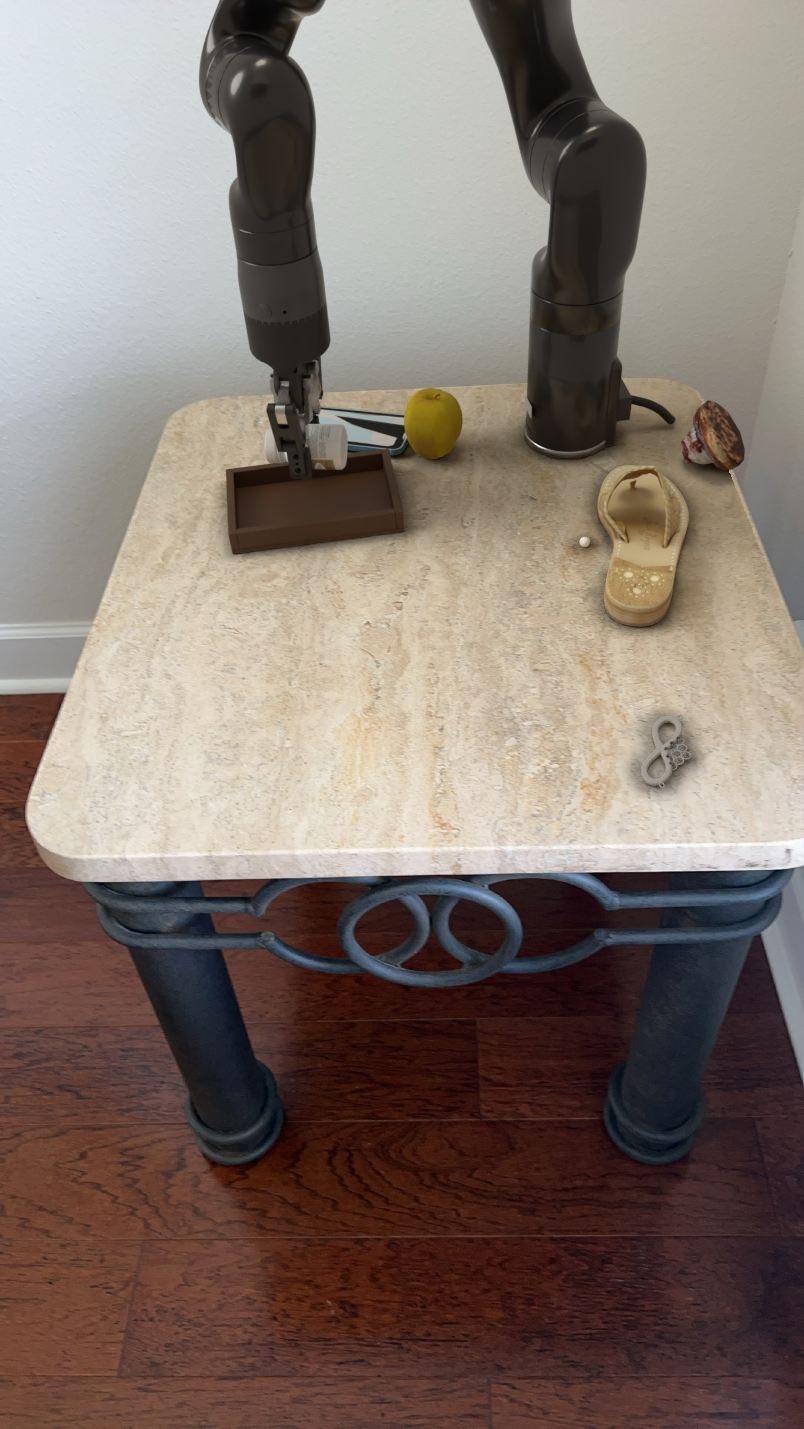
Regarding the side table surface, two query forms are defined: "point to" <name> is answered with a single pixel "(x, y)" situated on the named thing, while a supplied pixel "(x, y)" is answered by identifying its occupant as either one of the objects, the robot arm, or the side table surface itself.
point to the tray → (312, 503)
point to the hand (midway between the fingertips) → (306, 461)
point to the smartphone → (368, 429)
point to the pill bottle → (316, 446)
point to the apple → (432, 422)
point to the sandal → (641, 542)
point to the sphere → (585, 542)
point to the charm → (666, 751)
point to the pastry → (713, 438)
